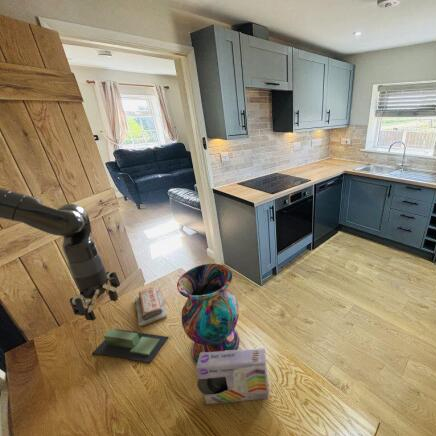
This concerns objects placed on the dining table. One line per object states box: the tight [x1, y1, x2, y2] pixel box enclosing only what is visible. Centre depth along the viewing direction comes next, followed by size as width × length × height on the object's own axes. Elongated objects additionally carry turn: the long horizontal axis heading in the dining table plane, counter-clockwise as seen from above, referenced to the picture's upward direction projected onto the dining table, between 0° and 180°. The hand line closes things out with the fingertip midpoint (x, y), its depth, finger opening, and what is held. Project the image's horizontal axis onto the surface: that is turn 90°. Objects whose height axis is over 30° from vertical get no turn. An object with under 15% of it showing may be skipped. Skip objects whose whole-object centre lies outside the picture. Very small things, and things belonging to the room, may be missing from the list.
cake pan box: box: [195, 347, 269, 405], centre depth 68 cm, size 19×5×18 cm, turn 94°
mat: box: [91, 328, 169, 364], centre depth 86 cm, size 22×10×1 cm, turn 82°
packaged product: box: [134, 287, 168, 328], centre depth 101 cm, size 18×5×10 cm
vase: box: [176, 263, 240, 363], centre depth 80 cm, size 18×18×30 cm
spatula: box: [103, 329, 160, 355], centre depth 85 cm, size 18×6×4 cm, turn 82°
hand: (103, 309), depth 78 cm, fingers open, 8 cm apart
